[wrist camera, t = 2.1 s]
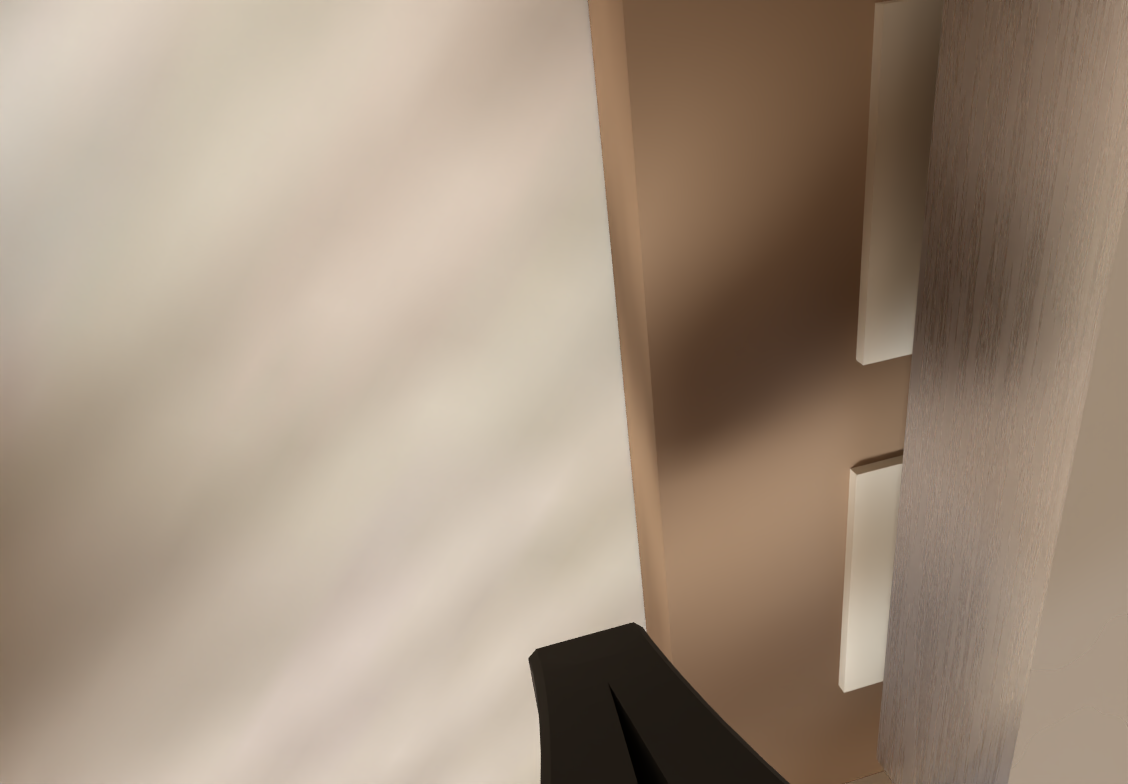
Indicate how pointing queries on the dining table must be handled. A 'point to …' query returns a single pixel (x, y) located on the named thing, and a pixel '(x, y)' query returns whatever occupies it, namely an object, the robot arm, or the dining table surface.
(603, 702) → the robot arm
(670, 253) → the label board
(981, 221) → the swing bar
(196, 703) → the dining table surface
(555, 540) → the dining table surface
